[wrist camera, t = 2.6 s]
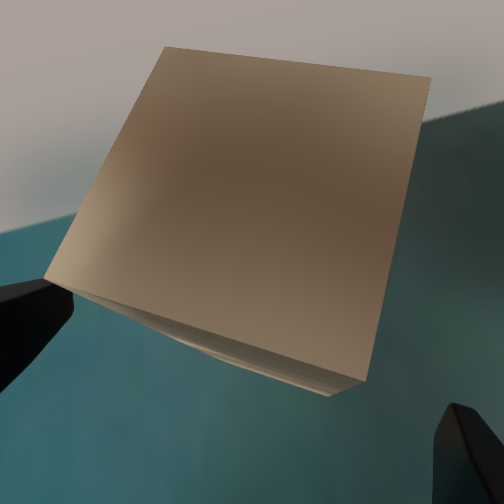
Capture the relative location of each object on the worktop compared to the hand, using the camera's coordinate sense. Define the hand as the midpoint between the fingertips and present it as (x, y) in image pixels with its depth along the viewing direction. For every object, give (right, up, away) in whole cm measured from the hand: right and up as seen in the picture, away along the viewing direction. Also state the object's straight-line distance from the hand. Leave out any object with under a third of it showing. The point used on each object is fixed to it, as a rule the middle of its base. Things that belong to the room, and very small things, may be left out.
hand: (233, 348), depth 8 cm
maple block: (+2, -1, +9) cm, 10 cm away
